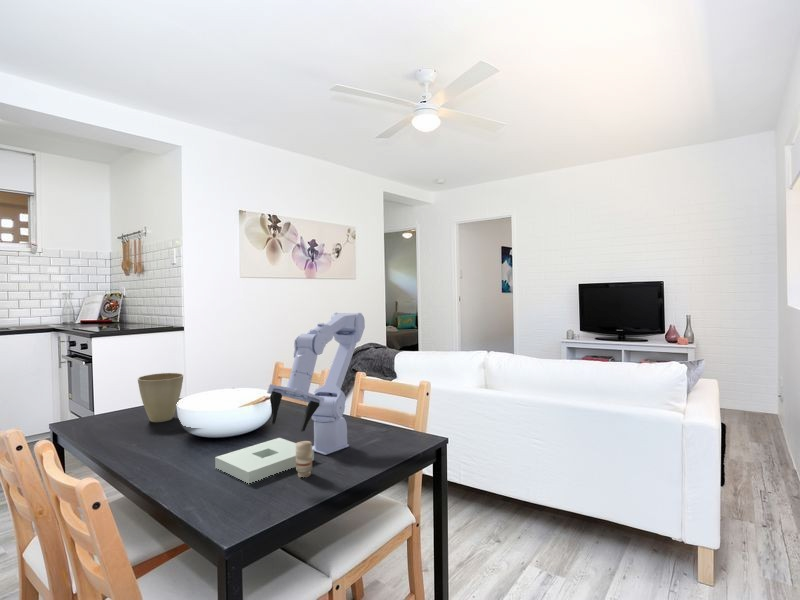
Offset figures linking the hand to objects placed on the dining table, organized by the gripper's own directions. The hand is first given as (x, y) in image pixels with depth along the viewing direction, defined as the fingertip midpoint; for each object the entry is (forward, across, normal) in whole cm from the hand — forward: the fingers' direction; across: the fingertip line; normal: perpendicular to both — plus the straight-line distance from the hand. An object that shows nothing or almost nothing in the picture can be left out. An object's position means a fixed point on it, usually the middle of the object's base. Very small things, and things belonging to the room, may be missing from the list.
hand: (287, 427), depth 114 cm
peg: (+10, +8, +4) cm, 13 cm away
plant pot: (-5, -35, +72) cm, 80 cm away
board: (+8, -1, +15) cm, 17 cm away
